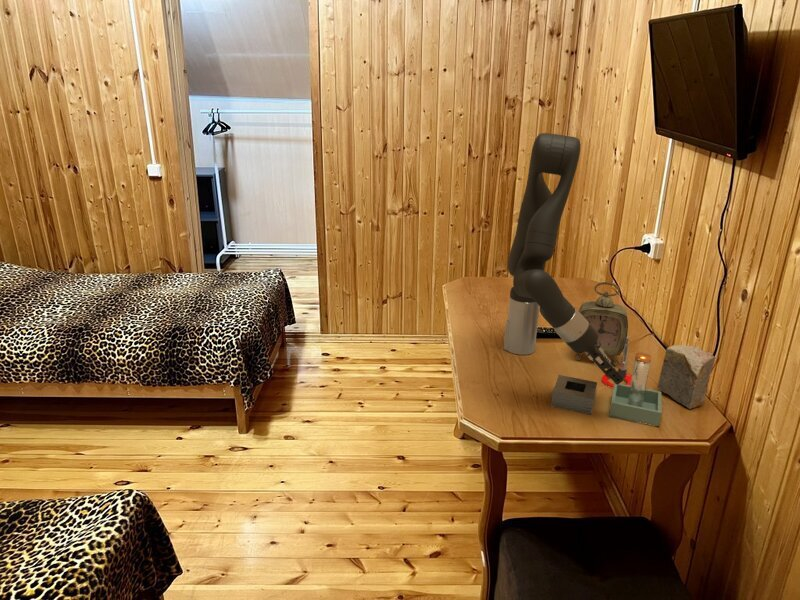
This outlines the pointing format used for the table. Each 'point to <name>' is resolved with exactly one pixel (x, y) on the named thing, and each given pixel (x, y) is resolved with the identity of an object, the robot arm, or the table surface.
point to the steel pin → (639, 379)
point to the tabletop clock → (607, 322)
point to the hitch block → (574, 394)
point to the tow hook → (621, 368)
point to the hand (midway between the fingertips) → (615, 373)
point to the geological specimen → (686, 374)
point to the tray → (643, 414)
